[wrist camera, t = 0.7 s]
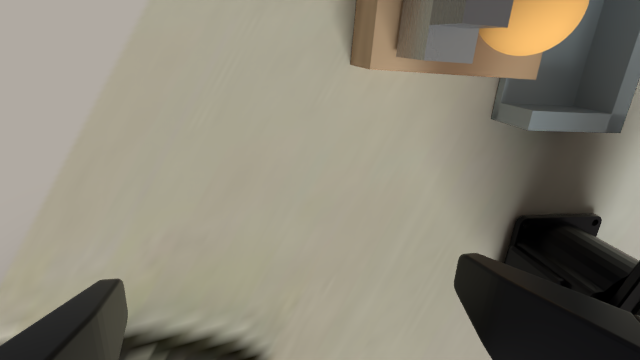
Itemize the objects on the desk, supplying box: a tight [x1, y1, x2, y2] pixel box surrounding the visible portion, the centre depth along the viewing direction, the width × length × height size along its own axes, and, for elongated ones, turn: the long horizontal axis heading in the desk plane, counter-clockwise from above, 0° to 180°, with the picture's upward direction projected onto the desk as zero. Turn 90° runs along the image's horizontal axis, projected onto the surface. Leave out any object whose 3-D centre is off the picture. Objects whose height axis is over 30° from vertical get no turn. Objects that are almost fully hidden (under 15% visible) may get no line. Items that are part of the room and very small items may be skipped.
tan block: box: [350, 0, 543, 80], centre depth 18 cm, size 8×6×3 cm
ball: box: [479, 0, 589, 56], centre depth 15 cm, size 4×4×4 cm
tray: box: [491, 0, 640, 133], centre depth 19 cm, size 6×11×3 cm, turn 176°
